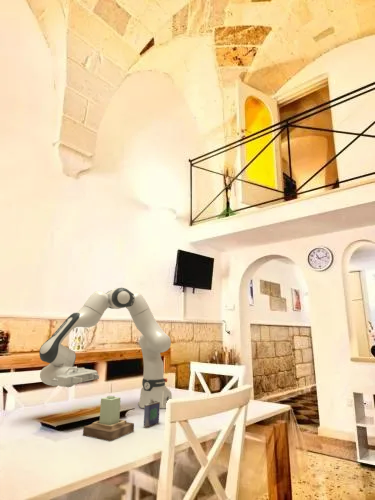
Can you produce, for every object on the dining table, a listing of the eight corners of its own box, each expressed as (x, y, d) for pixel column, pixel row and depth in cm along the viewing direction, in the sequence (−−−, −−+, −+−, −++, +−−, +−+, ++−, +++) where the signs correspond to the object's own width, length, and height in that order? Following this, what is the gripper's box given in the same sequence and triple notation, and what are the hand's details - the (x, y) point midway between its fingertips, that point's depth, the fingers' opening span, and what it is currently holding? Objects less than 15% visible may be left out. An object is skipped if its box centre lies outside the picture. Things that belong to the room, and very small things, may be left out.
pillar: (108, 422, 135) (110, 394, 137) (119, 424, 132) (120, 396, 135) (99, 425, 130) (101, 396, 133) (109, 427, 127) (111, 398, 130)
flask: (146, 428, 137) (147, 400, 140) (141, 427, 139) (142, 399, 142) (160, 423, 145) (161, 397, 147) (155, 422, 146) (156, 396, 149)
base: (107, 426, 140) (108, 415, 141) (133, 431, 133) (134, 420, 134) (82, 435, 128) (83, 423, 129) (110, 441, 121) (111, 428, 122)
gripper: (50, 372, 143) (72, 374, 137) (84, 367, 161) (106, 368, 155) (49, 388, 142) (71, 390, 136) (84, 380, 160) (105, 382, 153)
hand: (90, 378), depth 145 cm, fingers open, 8 cm apart
